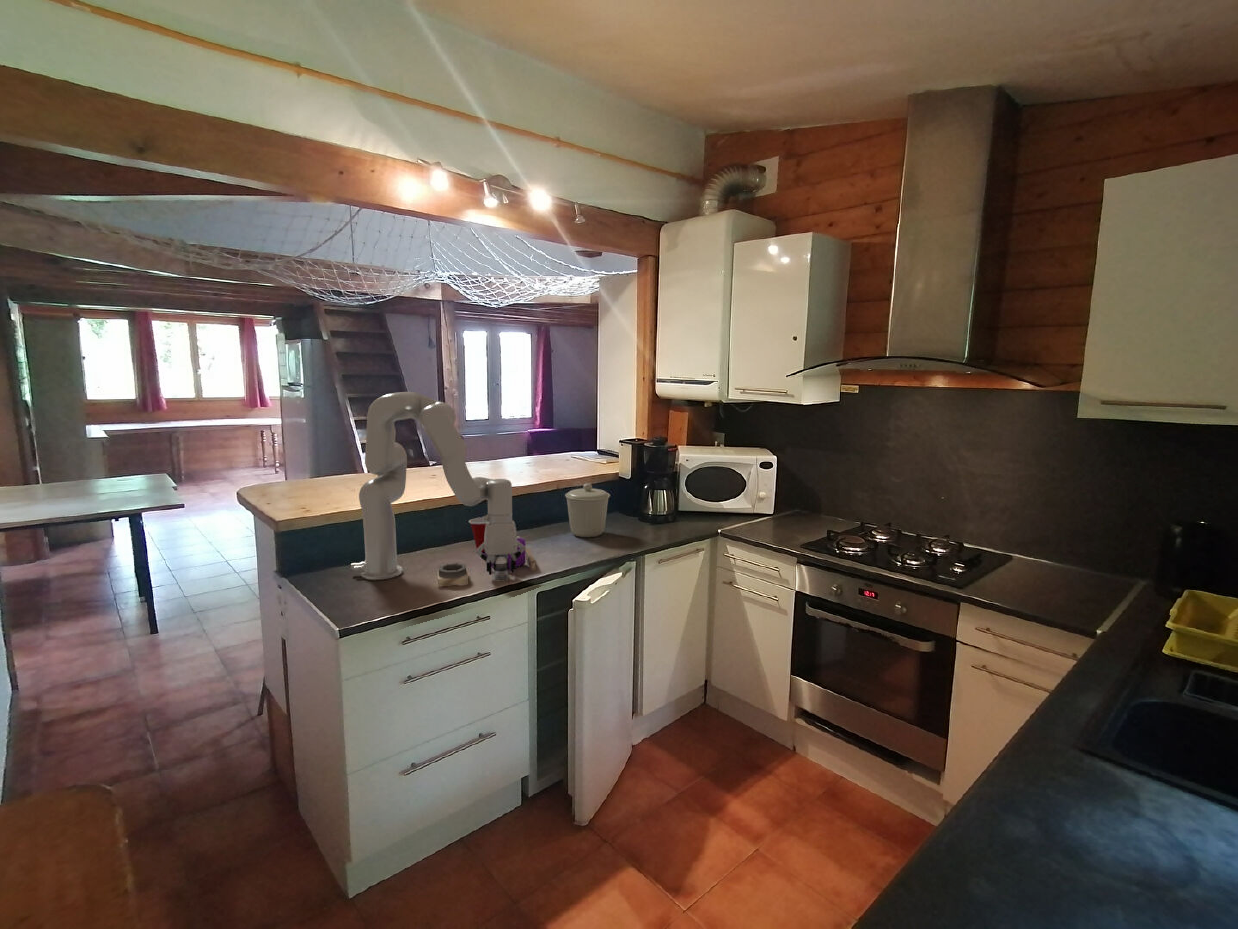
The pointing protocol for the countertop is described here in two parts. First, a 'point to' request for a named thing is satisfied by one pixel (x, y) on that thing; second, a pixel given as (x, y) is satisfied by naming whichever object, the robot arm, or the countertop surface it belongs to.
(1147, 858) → the countertop surface
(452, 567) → the mount
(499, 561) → the lens
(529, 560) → the rail
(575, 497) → the canister
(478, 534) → the plastic cup
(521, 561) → the toy camera
